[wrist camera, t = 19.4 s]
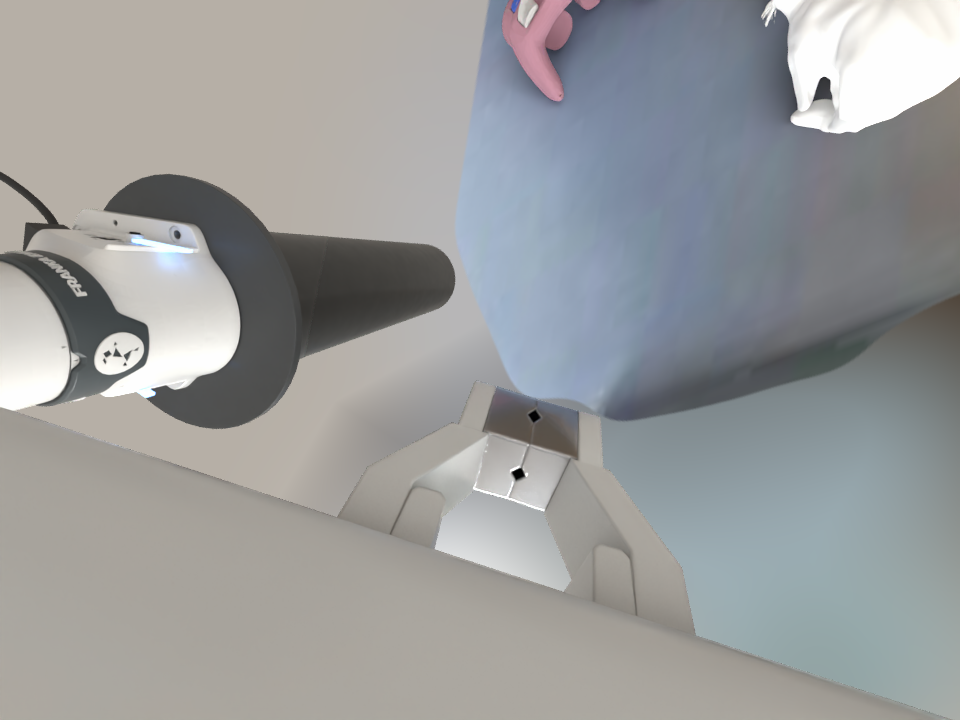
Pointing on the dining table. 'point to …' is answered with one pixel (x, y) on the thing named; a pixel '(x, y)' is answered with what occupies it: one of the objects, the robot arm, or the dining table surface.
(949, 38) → the white sculpture
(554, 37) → the pink animal figurine
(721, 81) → the dining table surface
